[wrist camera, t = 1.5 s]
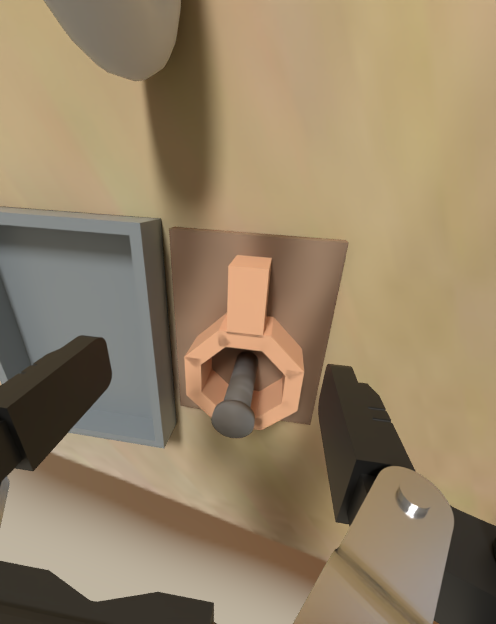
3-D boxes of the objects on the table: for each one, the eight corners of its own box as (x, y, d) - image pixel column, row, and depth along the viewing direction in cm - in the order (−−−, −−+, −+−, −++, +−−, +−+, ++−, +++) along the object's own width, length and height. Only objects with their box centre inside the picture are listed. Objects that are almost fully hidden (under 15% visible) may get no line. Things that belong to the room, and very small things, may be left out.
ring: (316, 261, 18) (321, 274, 15) (292, 406, 23) (293, 435, 20) (194, 251, 19) (179, 261, 16) (198, 393, 24) (187, 419, 21)
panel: (345, 240, 18) (380, 269, 11) (309, 416, 25) (317, 501, 18) (174, 226, 19) (112, 245, 12) (184, 398, 26) (147, 471, 19)
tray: (160, 218, 19) (139, 222, 16) (176, 423, 27) (164, 448, 25) (-25, 204, 21) (-73, 206, 18) (43, 402, 29) (18, 424, 26)
